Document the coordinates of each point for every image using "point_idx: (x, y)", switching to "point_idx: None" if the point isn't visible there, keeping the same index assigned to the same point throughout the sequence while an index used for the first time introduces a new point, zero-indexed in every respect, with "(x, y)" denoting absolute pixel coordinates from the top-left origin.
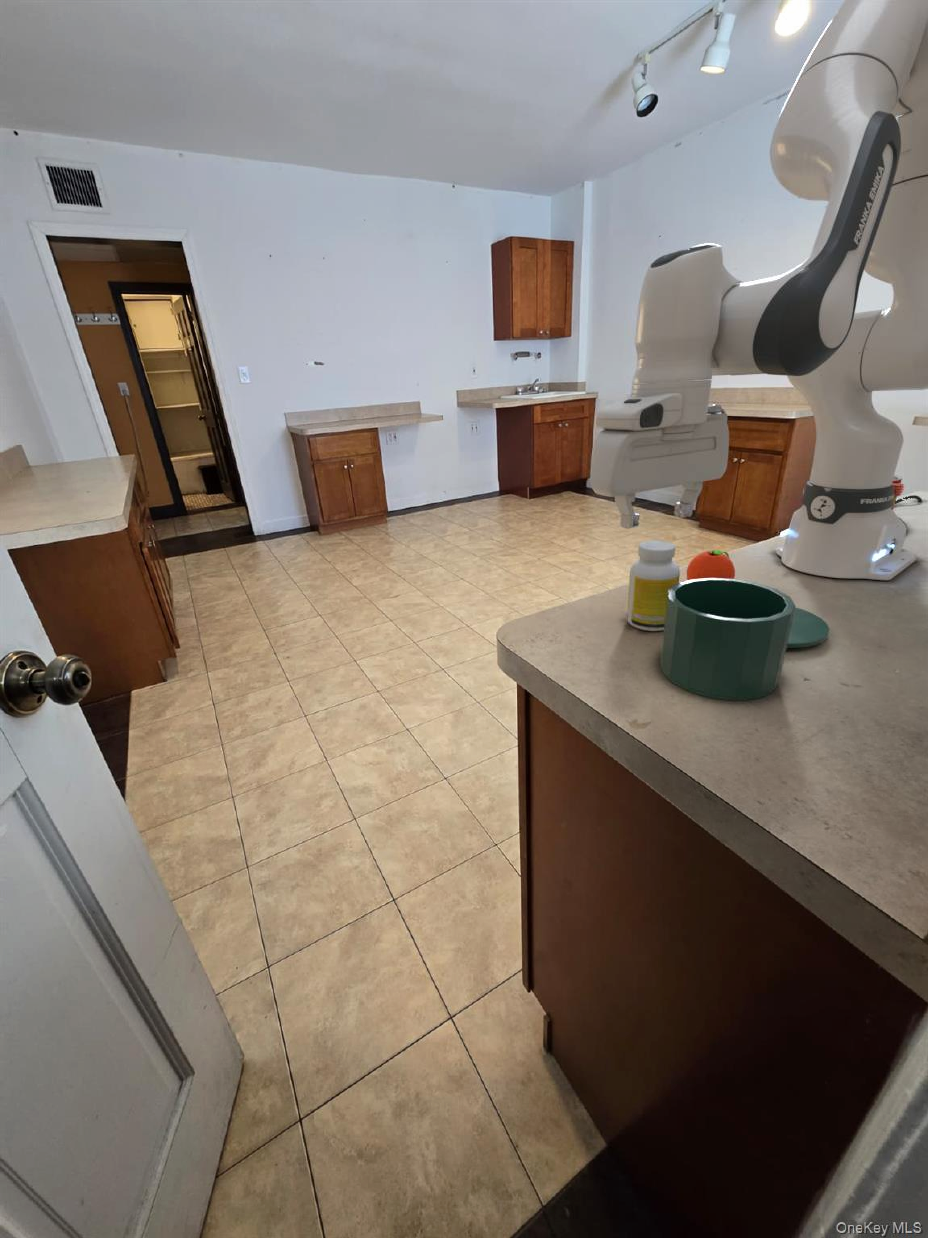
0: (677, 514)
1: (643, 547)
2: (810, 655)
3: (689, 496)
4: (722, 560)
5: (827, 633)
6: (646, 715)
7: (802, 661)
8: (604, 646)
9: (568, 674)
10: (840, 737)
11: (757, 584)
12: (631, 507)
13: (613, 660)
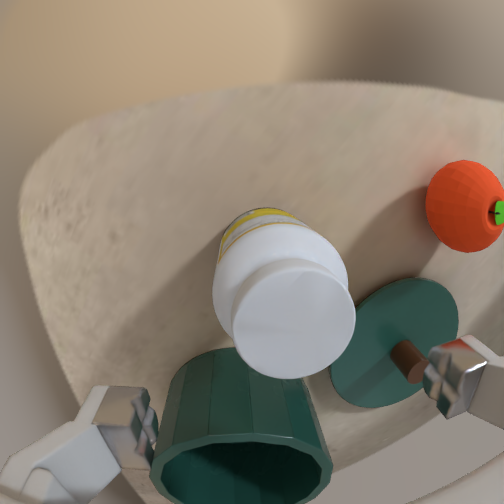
0: (431, 363)
1: (239, 326)
2: (362, 407)
3: (498, 407)
4: (485, 241)
5: (409, 396)
6: None
7: (342, 414)
8: (135, 286)
9: (60, 325)
10: None
11: (326, 471)
12: (89, 494)
13: (127, 328)
